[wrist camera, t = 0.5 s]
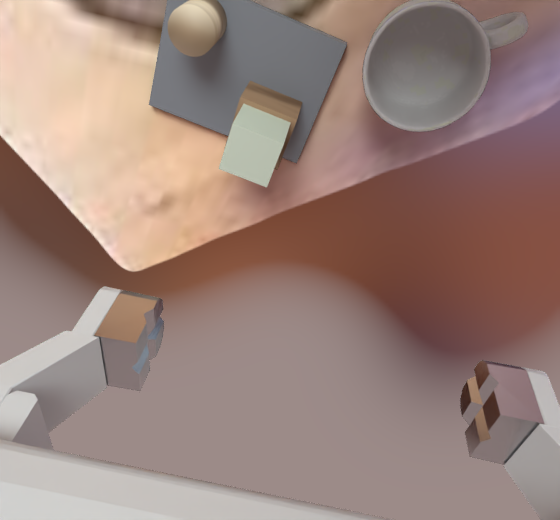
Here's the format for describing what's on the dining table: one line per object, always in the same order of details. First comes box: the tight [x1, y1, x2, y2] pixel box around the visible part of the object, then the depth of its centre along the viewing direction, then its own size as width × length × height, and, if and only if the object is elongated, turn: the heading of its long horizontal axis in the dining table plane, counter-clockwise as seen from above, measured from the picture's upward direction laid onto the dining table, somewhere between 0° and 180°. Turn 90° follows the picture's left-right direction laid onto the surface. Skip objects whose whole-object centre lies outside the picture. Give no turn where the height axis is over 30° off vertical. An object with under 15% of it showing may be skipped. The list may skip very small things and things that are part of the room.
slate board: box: [149, 0, 347, 163], centre depth 51 cm, size 14×18×1 cm
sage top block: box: [219, 104, 291, 187], centre depth 47 cm, size 5×5×5 cm
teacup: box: [363, 0, 528, 132], centre depth 44 cm, size 14×11×8 cm
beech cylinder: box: [168, 0, 227, 57], centre depth 45 cm, size 4×4×5 cm
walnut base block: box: [225, 81, 302, 170], centre depth 51 cm, size 6×6×5 cm
